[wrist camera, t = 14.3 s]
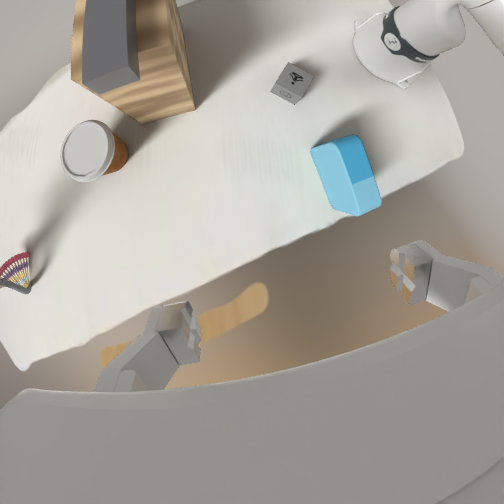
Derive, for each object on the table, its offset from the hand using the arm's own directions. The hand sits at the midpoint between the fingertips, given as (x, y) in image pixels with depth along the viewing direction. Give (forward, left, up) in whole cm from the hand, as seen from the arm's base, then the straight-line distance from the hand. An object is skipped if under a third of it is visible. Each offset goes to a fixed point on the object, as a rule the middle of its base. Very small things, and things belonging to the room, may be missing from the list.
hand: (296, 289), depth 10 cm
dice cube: (-20, -12, -39) cm, 46 cm away
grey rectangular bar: (-2, -26, -13) cm, 30 cm away
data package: (-17, +6, -39) cm, 43 cm away
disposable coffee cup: (+13, -21, -39) cm, 47 cm away
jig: (-3, -28, -39) cm, 48 cm away
